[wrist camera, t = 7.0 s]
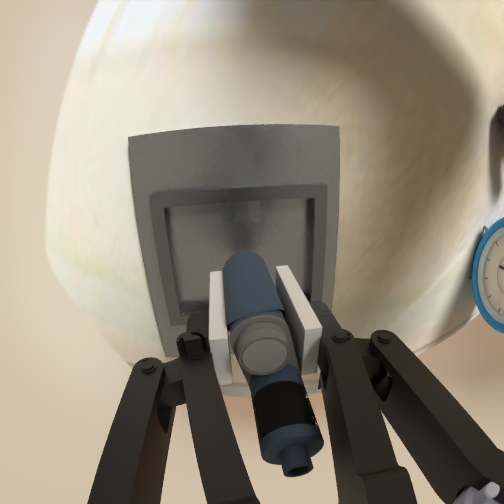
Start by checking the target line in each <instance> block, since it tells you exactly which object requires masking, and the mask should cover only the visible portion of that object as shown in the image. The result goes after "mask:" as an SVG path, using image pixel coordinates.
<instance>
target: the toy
mask: <svg viewBox="0 0 504 504" xmlns="http://www.w3.org/2000/svg"><path fill="white" fill-rule="evenodd" d="M499 118H500V121H501V124H502V127H503V131H504V105H503V106H502V108H501V110H500V112H499Z"/></svg>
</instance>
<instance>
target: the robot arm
mask: <svg viewBox="0 0 504 504" xmlns="http://www.w3.org/2000/svg"><path fill="white" fill-rule="evenodd" d="M275 267H276V291H277V293H278V296H279V298H280V301H281V303H282V306H283V308H284V311H285V318H286V324H287V325H288V328H289V331H290V335H291V339H292V342H293V346H294V350H295V354H296V358H297V362H298V366H299V370H300V373H301V375H305V374H311V373H317V367H318V366H319V368H320V370H321V372H320V379H319V385H318V389H320V388H321V389H322V394H323V400H324V405H325V411H326V417H327V423H328V429H329V435H330V442H331V447H332V455H333V461H334V468H335V475H336V482H337V490H338V497H339V504H417V500H416V496H415V493H414V489H413V486H412V482H411V479H410V475H409V473H408V471H407V469H406V468H404V467H401V466H399V465H398V463H397V461H396V457H395V454H394V451H393V447H392V444H391V441H390V438H389V434H388V431H387V428H386V425H385V422H384V419H383V416H382V413H383V414H384V416H385V417H386V418H387V420H388V421H389V423H390V424H391V426H392V427H393V429H394V430H395V432H396V433H397V435H398V436H399V438H400V439H401V441H402V442H403V444H404V445H405V447H406V448H407V450H408V451H409V453H410V454H411V456H412V457H413V459H414V460H415V462H416V463H417V465H418V467H419V468H420V470H421V471H422V473H423V474H424V476H425V477H426V479H427V480H428V482H429V483H430V485H431V486H432V488H433V489H434V491H435V492H436V494H437V495H438V496H439V498H440V499H441V500H442V501H443V502H444V503H445V504H504V452H503V451H502V450H500V449H498V448H497V447H496V446H495V445H494V443H493V442H492V441H491V440H490V439H489V437H488V436H487V435H486V434H485V433H484V431H483V430H482V429H481V428H480V427H479V426H478V424H477V423H476V422H475V421H474V420H473V419H472V417H471V416H470V415H469V414H468V413H467V412H466V410H465V409H464V408H463V407H462V406H461V405H460V404H459V402H458V401H457V400H456V399H455V398H454V397H453V396H452V395H451V393H450V392H449V391H448V390H447V389H446V388H445V387H444V386H443V385H442V384H441V382H440V381H439V380H438V379H437V378H436V377H435V376H434V375H433V374H432V373H431V372H430V371H429V369H428V368H427V367H426V366H425V365H424V364H423V363H422V362H421V361H420V360H419V359H418V358H417V357H416V356H415V355H414V353H413V352H412V351H411V350H410V349H409V348H408V347H407V346H406V345H405V344H404V343H403V342H402V341H401V340H400V339H399V338H398V337H397V336H396V335H395V334H394V333H392V332H390V331H387V330H377V331H375V332H373V333H372V335H371V338H370V339H360V338H354V336H353V335H352V333H350V332H349V331H347V330H344V329H342V328H341V327H340V325H339V323H338V322H337V320H336V319H335V317H334V316H333V314H332V313H331V311H330V309H329V308H328V306H327V305H326V304H325V303H323V302H322V301H320V300H318V301H310V302H308V300H307V299H306V297H305V295H304V293H303V291H302V290H301V288H300V286H299V284H298V283H297V281H296V279H295V277H294V276H293V274H292V272H291V270H290V268H289V267H288V265H285V266H275ZM176 344H177V348H178V352H179V356H180V357H178V358H177V359H175V360H173V361H170V362H167V363H162V362H161V361H160V360H159V359H157V358H152V357H150V358H144V359H141V360H140V361H138V362H137V363H136V364H135V365H134V367H133V369H132V372H131V375H130V377H129V380H128V382H127V385H126V388H125V390H124V393H123V395H122V398H121V401H120V404H119V406H118V409H117V412H116V415H115V418H114V420H113V423H112V426H111V429H110V432H109V435H108V438H107V441H106V444H105V447H104V450H103V453H102V456H101V459H100V462H99V465H98V469H97V472H96V475H95V479H94V482H93V485H92V489H91V493H90V496H89V500H88V503H87V504H160V501H161V494H162V487H163V480H164V474H165V467H166V461H167V455H168V449H169V444H170V438H171V432H172V426H173V421H174V416H175V411H176V406H178V405H181V404H185V403H186V404H187V410H188V416H189V422H190V427H191V433H192V438H193V443H194V448H195V452H196V458H197V462H198V467H199V471H200V476H201V480H202V484H203V488H204V492H205V496H206V500H207V504H260V502H259V500H258V499H257V497H256V495H255V492H254V490H253V487H252V484H251V482H250V479H249V476H248V473H247V470H246V468H245V465H244V462H243V459H242V456H241V453H240V450H239V448H238V444H237V441H236V438H235V435H234V432H233V429H232V426H231V422H230V419H229V416H228V413H227V409H226V406H225V403H224V400H223V396H222V393H221V389H220V386H219V385H224V384H233V378H232V368H231V357H230V346H229V334H228V330H227V327H226V319H225V304H224V288H223V271H214V272H210V299H209V312H206V313H192V314H191V315H190V317H189V318H188V319H187V327H186V332H184V333H182V334H180V335H179V336H178V338H177V340H176ZM381 411H382V413H381Z"/></svg>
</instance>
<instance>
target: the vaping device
mask: <svg viewBox="0 0 504 504" xmlns="http://www.w3.org/2000/svg"><path fill="white" fill-rule="evenodd" d="M223 288H224V304H225V319H226V327H227V330H228V331H229V332H230V343H231V346H232V349H233V351H234V353H235V356H236V358H237V360H238V363H239V365H240V367H241V369H242V372H243V374H244V376H245V378H246V380H247V383H248V385H249V387H250V390H251V397H252V403H253V409H254V414H255V421H256V427H257V432H258V439H259V444H260V450H261V456H262V458H263V460H265V461H266V462H268V463H271V464H277V465H282V469H283V473H284V475H285V476H287V477H296V476H301V475H304V474H307V473H309V472H310V471H311V470H312V469H313V465H312V462H311V458H310V457H312V456H314V455H315V454H317V453H318V452H319V451H320V450H321V449H322V447H323V445H324V440H323V437H322V435H321V432H320V429H319V426H317V424H318V423H317V421H316V423H317V424H316V423H315V420H316V419H315V415H314V412H313V409H312V407H311V404H310V401H309V398H306V396H308V395H306V393H307V392H306V389H305V387H304V384H303V381H302V378H301V374H300V370H299V366H298V362H297V358H296V354H295V350H294V346H293V342H292V339H291V335H290V331H289V328H288V325H287V324H286V318H285V311H284V308H283V306H282V303H281V301H280V298H279V296H278V293H277V291H276V288H275V286H274V283H273V281H272V278H271V276H270V273H269V271H268V268H267V266H266V263H265V261H264V259H263V258H262V257H261V256H259V255H258V254H256V253H254V252H251V251H241V252H238V253H235V254H234V255H232V256H231V257H230V258H229V259H228V260H227V261H226V263H225V264H224V267H223ZM309 407H310V408H311V409H310V408H309ZM312 416H313V417H312ZM316 426H317V427H316ZM261 434H262V435H261Z"/></svg>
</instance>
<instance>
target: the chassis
mask: <svg viewBox="0 0 504 504" xmlns="http://www.w3.org/2000/svg"><path fill="white" fill-rule="evenodd" d="M128 141H129V155H130V166H131V176H132V185H133V194H134V202H135V209H136V217H137V223H138V230H139V236H140V242H141V248H142V254H143V259H144V265H145V270H146V275H147V280H148V285H149V289H150V294H151V298H152V303H153V307H154V311H155V316H156V320H157V324H158V328H159V332H160V336H161V339H162V343H163V347H164V350H165V354H166V357H171V356H179V352H178V348H177V344H176V340H177V338H178V336H179V335H180V334H182V333H184V332H186V327H187V319H188V318H189V317H190V315H191V314H192V313H206V312H209V299H210V272H214V271H223V267H224V264H225V263H226V261H227V260H228V259H229V258H230V257H231V256H232V255H234V254H235V253H238V252H241V251H251V252H254V253H256V254H258V255H259V256H261V257H262V258H263V259H264V261H265V263H266V266H267V268H268V271H269V273H270V276H271V278H272V281H273V283H274V286H275V288H276V267H275V266H285V265H288V267H289V268H290V270H291V272H292V274H293V276H294V277H295V279H296V281H297V283H298V284H299V286H300V288H301V290H302V291H303V293H304V295H305V297H306V299H307V300H308V302H310V301H318V300H320V301H322V302H323V303H325V304H326V305H327V306H328V308H329V309H330V311H331V308H332V298H333V288H334V277H335V265H336V251H337V236H338V215H339V180H340V140H339V126H325V125H293V124H268V125H236V126H218V127H205V128H194V129H184V130H175V131H166V132H159V133H152V134H145V135H138V136H132V137H128ZM228 334H229V346H230V353H234V351H233V349H232V346H231V343H230V332H229V331H228Z"/></svg>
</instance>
